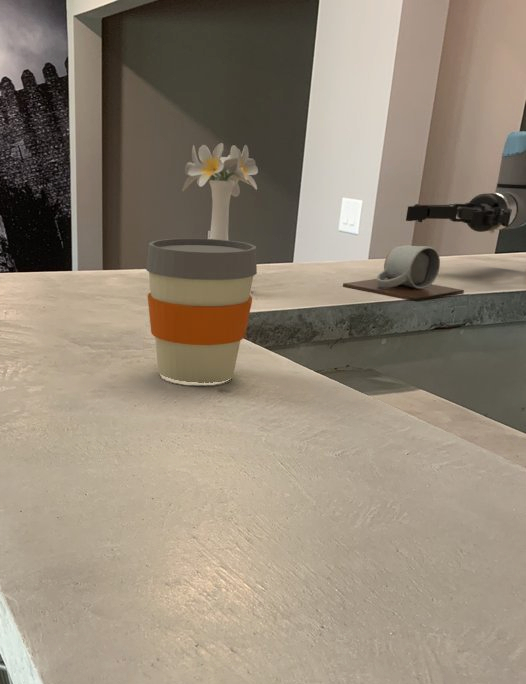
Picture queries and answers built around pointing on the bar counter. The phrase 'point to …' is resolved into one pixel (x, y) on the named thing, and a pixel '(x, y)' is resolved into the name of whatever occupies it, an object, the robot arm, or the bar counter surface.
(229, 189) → the flower vase
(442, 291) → the placemat
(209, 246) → the reusable coffee cup
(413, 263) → the ceramic mug
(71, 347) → the bar counter surface
